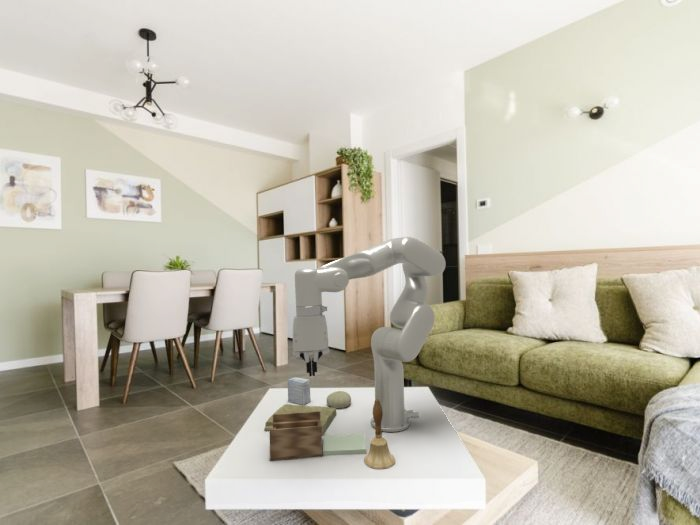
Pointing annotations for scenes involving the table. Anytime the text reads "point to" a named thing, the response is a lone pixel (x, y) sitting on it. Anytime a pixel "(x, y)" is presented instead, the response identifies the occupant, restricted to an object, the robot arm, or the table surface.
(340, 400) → the sea urchin shell
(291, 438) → the box
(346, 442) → the cover plate
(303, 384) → the medicine box
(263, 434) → the table surface
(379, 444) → the hand bell
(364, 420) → the table surface
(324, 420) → the decorative tile
